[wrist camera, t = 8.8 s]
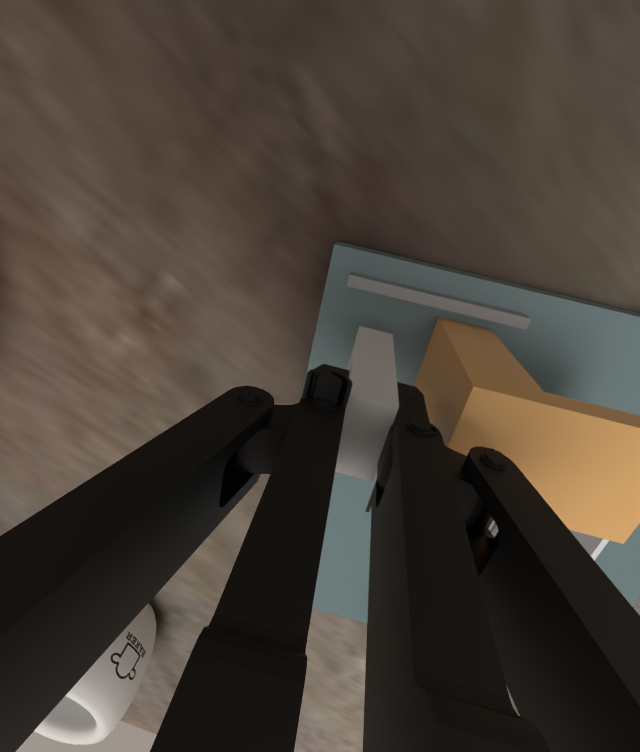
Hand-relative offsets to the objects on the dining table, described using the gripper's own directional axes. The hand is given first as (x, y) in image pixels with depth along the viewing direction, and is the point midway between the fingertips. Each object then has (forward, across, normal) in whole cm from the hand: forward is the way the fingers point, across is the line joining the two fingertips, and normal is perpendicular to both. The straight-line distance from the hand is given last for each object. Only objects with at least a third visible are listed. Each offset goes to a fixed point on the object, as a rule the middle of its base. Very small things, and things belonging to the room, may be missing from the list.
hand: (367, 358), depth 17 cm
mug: (+4, -14, -27) cm, 31 cm away
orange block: (+2, +6, 0) cm, 6 cm away
